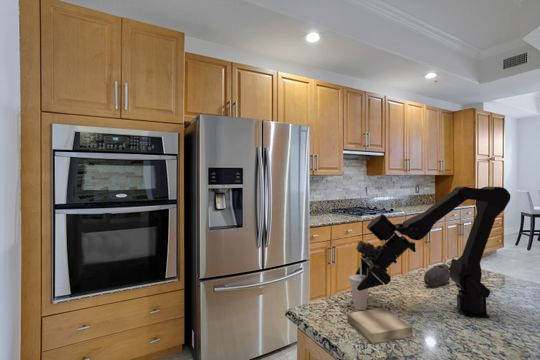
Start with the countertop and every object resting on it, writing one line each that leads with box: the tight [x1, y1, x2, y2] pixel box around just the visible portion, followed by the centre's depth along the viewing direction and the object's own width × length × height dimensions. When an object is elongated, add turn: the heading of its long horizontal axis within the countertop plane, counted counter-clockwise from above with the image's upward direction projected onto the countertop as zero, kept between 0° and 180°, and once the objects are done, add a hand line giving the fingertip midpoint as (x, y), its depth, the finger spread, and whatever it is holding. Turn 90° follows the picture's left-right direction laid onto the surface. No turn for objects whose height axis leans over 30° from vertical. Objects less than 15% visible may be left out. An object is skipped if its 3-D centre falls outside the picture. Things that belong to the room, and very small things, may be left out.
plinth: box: [346, 307, 413, 345], centre depth 78 cm, size 12×12×2 cm
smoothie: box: [348, 263, 369, 311], centre depth 92 cm, size 6×6×14 cm
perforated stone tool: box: [423, 263, 451, 288], centre depth 111 cm, size 15×5×7 cm, turn 119°
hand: (355, 284), depth 92 cm, fingers open, 9 cm apart
